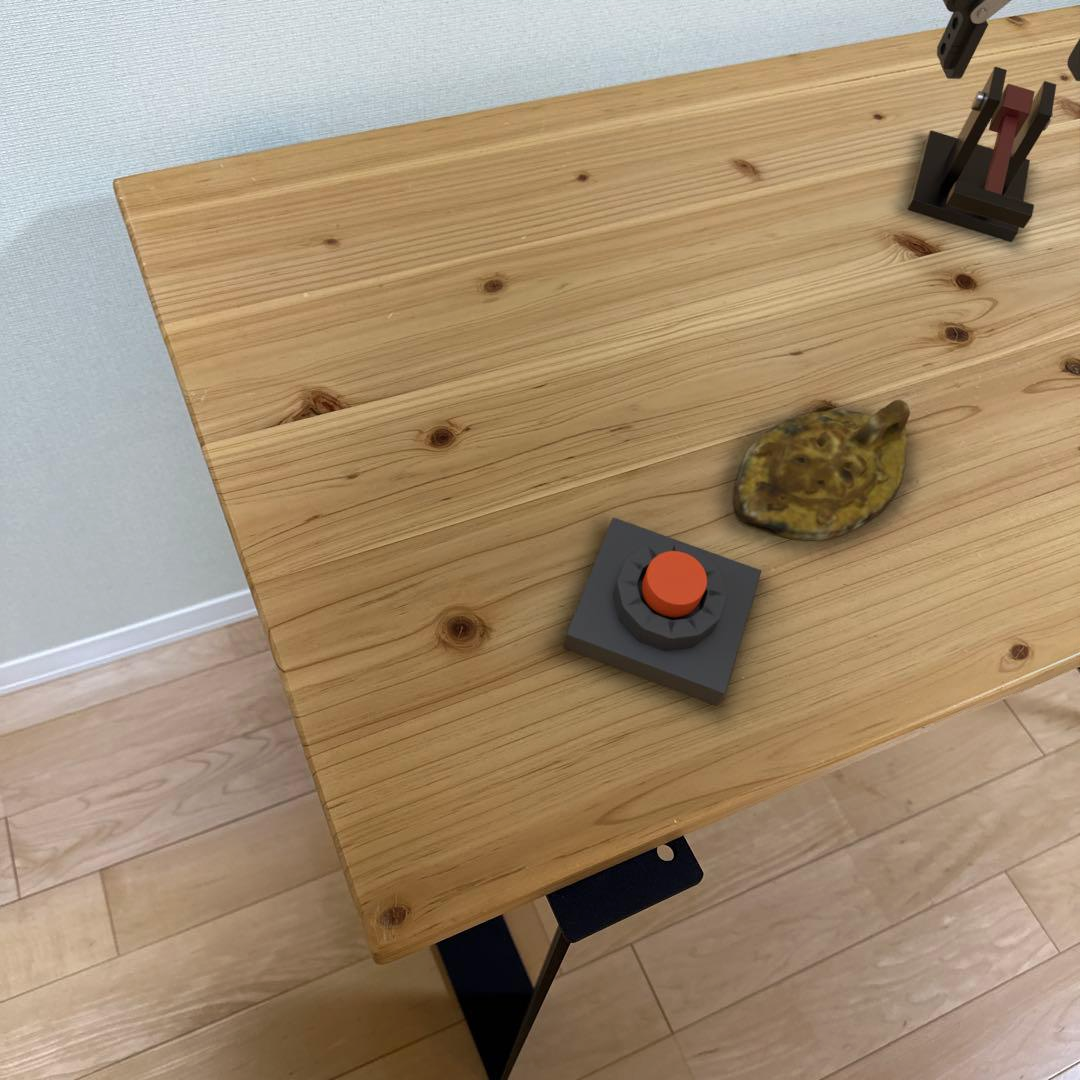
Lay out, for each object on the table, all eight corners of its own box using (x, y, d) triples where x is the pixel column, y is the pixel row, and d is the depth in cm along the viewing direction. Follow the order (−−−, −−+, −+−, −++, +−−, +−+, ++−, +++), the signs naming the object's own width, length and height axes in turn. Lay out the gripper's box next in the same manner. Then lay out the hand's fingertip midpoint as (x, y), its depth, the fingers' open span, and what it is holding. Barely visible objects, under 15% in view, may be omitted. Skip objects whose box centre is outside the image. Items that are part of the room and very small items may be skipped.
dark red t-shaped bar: (1020, 234, 74) (1036, 210, 72) (942, 210, 75) (956, 186, 73) (1043, 122, 80) (1058, 97, 78) (970, 101, 80) (984, 76, 78)
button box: (752, 586, 64) (770, 556, 60) (716, 707, 59) (733, 682, 56) (608, 533, 65) (617, 501, 61) (562, 649, 60) (569, 621, 57)
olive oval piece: (782, 583, 65) (932, 478, 70) (809, 555, 61) (967, 446, 66) (695, 477, 68) (846, 384, 73) (716, 443, 63) (874, 346, 68)
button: (707, 576, 60) (714, 563, 58) (691, 626, 58) (698, 613, 56) (651, 556, 60) (656, 542, 58) (633, 605, 58) (639, 591, 57)
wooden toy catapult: (1010, 244, 82) (1074, 145, 74) (906, 211, 83) (958, 110, 75) (1022, 172, 87) (1084, 71, 79) (924, 142, 88) (974, 39, 80)
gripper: (1073, -206, 44) (922, 110, 58) (1355, -191, 46) (1142, 113, 60) (1017, -281, 48) (888, 33, 62) (1280, -265, 49) (1096, 37, 63)
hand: (1013, 72), depth 61 cm, fingers open, 8 cm apart
